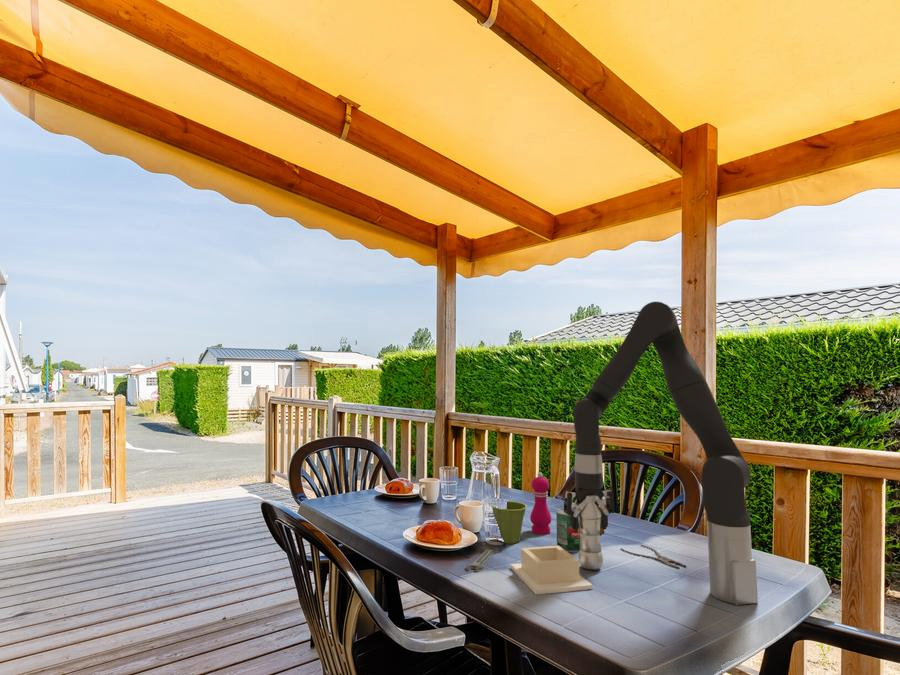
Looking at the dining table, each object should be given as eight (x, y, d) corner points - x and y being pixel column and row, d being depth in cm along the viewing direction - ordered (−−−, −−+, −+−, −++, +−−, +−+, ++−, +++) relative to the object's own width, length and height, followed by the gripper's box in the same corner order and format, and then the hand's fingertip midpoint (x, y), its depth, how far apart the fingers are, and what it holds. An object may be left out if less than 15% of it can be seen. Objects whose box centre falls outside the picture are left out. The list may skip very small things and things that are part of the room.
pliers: (636, 542, 158) (698, 560, 142) (636, 545, 158) (699, 563, 142) (617, 548, 152) (680, 567, 136) (618, 551, 152) (680, 571, 136)
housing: (592, 589, 123) (591, 563, 124) (535, 594, 120) (535, 568, 120) (561, 563, 140) (560, 541, 141) (510, 567, 137) (510, 545, 138)
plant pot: (502, 548, 153) (501, 511, 155) (484, 537, 164) (484, 502, 165) (534, 543, 158) (534, 507, 159) (515, 533, 169) (514, 499, 170)
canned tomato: (560, 542, 159) (559, 507, 160) (585, 546, 156) (584, 510, 157) (554, 550, 152) (553, 513, 153) (580, 553, 149) (579, 516, 150)
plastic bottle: (607, 567, 137) (605, 493, 139) (595, 574, 132) (594, 497, 134) (586, 562, 142) (584, 490, 144) (574, 568, 137) (572, 494, 139)
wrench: (464, 571, 135) (464, 567, 136) (485, 549, 154) (485, 545, 154) (480, 574, 134) (480, 569, 134) (500, 550, 152) (500, 547, 152)
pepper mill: (553, 535, 167) (552, 474, 169) (532, 534, 167) (531, 474, 169) (549, 528, 175) (548, 470, 176) (529, 528, 175) (528, 470, 177)
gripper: (571, 473, 135) (571, 534, 133) (618, 471, 137) (619, 532, 136) (559, 468, 142) (559, 526, 140) (604, 467, 145) (605, 524, 143)
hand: (589, 529), depth 138 cm, fingers open, 8 cm apart
